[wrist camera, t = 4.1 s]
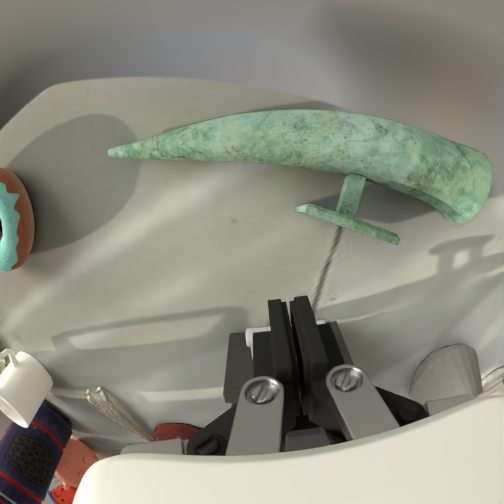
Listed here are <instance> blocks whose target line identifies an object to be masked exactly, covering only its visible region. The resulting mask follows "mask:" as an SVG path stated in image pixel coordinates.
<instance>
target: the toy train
mask: <svg viewBox="0 0 504 504" xmlns="http://www.w3.org/2000/svg"><path fill="white" fill-rule="evenodd" d="M77 489H78V488H76V487H72V486H71V488H70V490H69V491H66V490H65V489H64V485H63V484H61V485H60V486H58V487H57V488H56V489H53V490H52V491H51V492H49V491H47V492H48V495H49V497H50V499H51V500H52V501H53V503H55V504H73V500H74V497H75V494H76V492H77Z"/></svg>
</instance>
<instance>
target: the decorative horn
mask: <svg viewBox="0 0 504 504" xmlns="http://www.w3.org/2000/svg"><path fill="white" fill-rule="evenodd" d="M108 155H110V156H113V157H119V158H130V159H177V160H221V161H242V162H256V163H268V164H277V165H286V166H295V167H302V168H309V169H315V170H322V171H328V172H333V173H337V174H342V175H346V176H345V180H344V183H343V187H342V190H341V194H340V197H339V201H338V204H337V207H336V211H332V210H329V209H326V208H323V207H320V206H317V205H314V204H300V205H298V206H296V209H295V211H296V212H299V213H302V214H306V215H309V216H312V217H315V218H318V219H321V220H324V221H327V222H330V223H333V224H336V225H339V226H342V227H345V228H348V229H350V230H353V231H356V232H359V233H362V234H365V235H368V236H371V237H374V238H377V239H380V240H384V241H387V242H390V243H393V244H396V245H399V241H400V238H399V237H398V235H397V234H395V233H392V232H390V231H387V230H385V229H382V228H379V227H377V226H374V225H371V224H369V223H366V222H363V221H361V220H358V219H355V217H356V213H357V210H358V206H359V203H360V199H361V196H362V192H363V188H364V185H365V181H369V182H373V183H376V184H379V185H382V186H385V187H388V188H391V189H393V190H396V191H399V192H401V193H404V194H407V195H409V196H412V197H414V198H416V199H419V200H421V201H423V202H425V203H428V204H430V205H432V206H433V207H434V208H435V209H436V210H437V211H438V212H439V213H440V214H442V215H443V216H444V217H445V218H446V219H447V220H448V221H449V222H450V223H452V224H454V225H459V224H463V223H465V222H467V221H469V220H470V219H471V218H472V217H474V216H475V215H476V214H477V212H478V211H479V210H480V209H481V207H482V206H483V204H484V202H485V201H486V199H487V197H488V194H489V191H490V188H491V183H492V166H491V163H490V160H489V158H488V157H487V156H486V155H485V153H483V152H480V151H478V150H475V149H473V148H470V147H468V146H465V145H462V144H459V143H456V142H454V141H450V140H448V139H446V138H444V137H441V136H439V135H436V134H434V133H431V132H428V131H425V130H423V129H420V128H417V127H414V126H410V125H407V124H403V123H400V122H396V121H392V120H388V119H384V118H379V117H374V116H369V115H364V114H358V113H351V112H342V111H330V110H301V109H296V110H274V111H261V112H252V113H243V114H236V115H231V116H226V117H221V118H217V119H212V120H208V121H204V122H200V123H196V124H192V125H189V126H185V127H181V128H178V129H175V130H171V131H168V132H165V133H162V134H159V135H156V136H153V137H150V138H147V139H144V140H140V141H137V142H134V143H130V144H127V145H123V146H118V147H114V148H111V149H109V150H108Z"/></svg>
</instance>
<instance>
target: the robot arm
mask: <svg viewBox="0 0 504 504" xmlns="http://www.w3.org/2000/svg"><path fill="white" fill-rule="evenodd" d="M268 308H269V318H270V328H271V331H263V332H253V379H251V380H249V381H247V382H246V383H245V384H244V385H243V386H242V389H241V391H240V395H239V400H238V403H236V404H235V405H234V406H232V407H231V408H230V409H229V410H227V411H226V412H225V413H223V414H222V415H221V416H219V417H218V418H217V419H215V420H214V421H213V422H211V423H210V424H208V425H207V426H206V427H204V428H203V429H202V430H200V431H199V432H197V433H196V434H194V435H193V436H192V437H191V438H190V439H188V440H182V439H181V438H178V439H170V440H162V441H152V442H140V443H132V444H128V445H127V446H125V447H124V448H123V449H122V450H121V452H120V455H117V456H112V457H108V458H105V459H102V460H99V461H97V462H96V463H94V464H93V465H92V466H91V467H90V468H89V469H88V470H87V472H86V473H85V475H84V477H83V479H82V481H81V483H80V485H79V487H78V489H77V492H76V494H75V497H74V500H73V504H504V386H503V387H501V388H500V389H498V390H497V391H495V392H494V393H492V394H491V395H489V396H484V397H480V398H477V397H476V396H475V395H472V394H464V395H459V396H454V397H449V398H443V399H437V400H431V401H426V402H425V404H420V403H418V402H416V401H414V400H411V399H408V398H405V397H402V396H400V395H397V394H394V393H392V392H389V391H386V390H384V389H381V388H378V387H376V386H374V385H373V384H372V382H371V380H370V379H369V377H368V376H367V374H366V373H365V372H364V371H363V370H362V369H361V368H359V367H358V366H355V365H350V364H345V362H344V359H343V356H342V354H341V351H340V348H339V346H338V343H337V340H336V338H335V335H334V333H333V330H332V328H331V325H330V323H324V324H317V323H316V320H315V317H314V314H313V311H312V308H311V305H310V302H309V299H308V296H300V297H294V301H290V316H291V324H290V319H289V314H288V310H287V305H286V302H281V300H280V299H276V300H268ZM503 379H504V368H499V369H497V370H495V371H494V372H492V373H491V374H489V375H488V376H487V377H486V378H484V379H483V380H482V381H481V382H482V389H483V392H484V391H485V390H487V389H489V388H490V387H492V386H494V385H495V384H497V383H498V382H500V381H501V380H503ZM299 391H300V397H301V403H302V408H303V414H304V415H307V414H309V419H310V421H313V423H315V424H317V425H319V426H321V431H322V434H323V436H324V438H325V441H326V443H327V446H323V447H318V448H312V449H305V450H298V451H290V452H286V448H287V433H288V432H289V431H290V430H291V429H292V428H293V427H294V426H295V425H296V416H299V415H300V406H299Z"/></svg>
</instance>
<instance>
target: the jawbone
mask: <svg viewBox="0 0 504 504" xmlns="http://www.w3.org/2000/svg"><path fill="white" fill-rule="evenodd" d="M95 392H96V393H99V394H100V395H101V397H103V398H104V400H105V403H106V404H107V405H108V406H109V407H110V408H111V409H112V411H113V412H115V413H116V414H117V415H118V416H119V417H120V418H121V419H120V418H119V417H117V416H116V415H115V414H113V413H112V412H111V411H109V410H108V409H107V408H106V407H105V406H103V405H102V404H100V403H99V402H98V401H97V400H96V399H95V398H94V397H93V396H92V395H91V393H90V391H89V389H88V390H87V392H85V396H86V399H87V400H88V401H89V402H90V403H91V404H92V405H93V406H94V407H95V408H96V409H98V410H99V411H100V412H101V413H102V414H104V415H105V416H106V417H108V418H110V419H111V420H113V421H115V422H116V423H118V424H120V425H121V426H123V427H125V428H126V429H128V430H130V431H131V432H133V433H135V434H137V435H139V436H140V437H142V438H144V439H146V440H148V441H150V442H152V441H154V440H153V439H152V438H151V437H149V436H148V435H147V434H145V433H144V432H143V431H142V430H140V429H139V428H138V427H137V426H136V425H135V424H134V423H132V422H131V421H130V420H129V419H128V418H127V417H126V416H125V415H124V414H123V413H122V412H121V411H120V410H119V409H118V408H117V407H116V405H115V404H114V403H113V402H112V401H111V400H110V399H109V397H108V396H107V395H106V394H105V392H104V391H103V390H102V389H101V387H98V388H97V390H96V391H95ZM110 404H111V405H110ZM96 405H98V406H99V407H100V408H98V407H97V406H96ZM104 411H105V412H106V413H105V412H104Z"/></svg>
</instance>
